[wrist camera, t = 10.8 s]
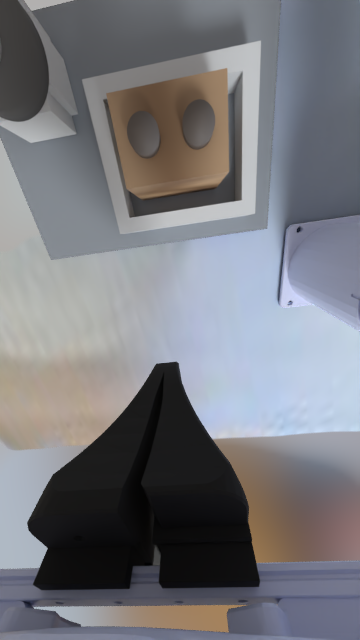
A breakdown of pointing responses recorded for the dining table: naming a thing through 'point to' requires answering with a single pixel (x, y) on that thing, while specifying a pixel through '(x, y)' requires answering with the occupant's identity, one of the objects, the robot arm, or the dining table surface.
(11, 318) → the dining table surface
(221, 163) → the block with grey pegs
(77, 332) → the dining table surface
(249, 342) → the dining table surface
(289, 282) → the robot arm
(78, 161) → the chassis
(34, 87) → the wheel
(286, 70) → the dining table surface
